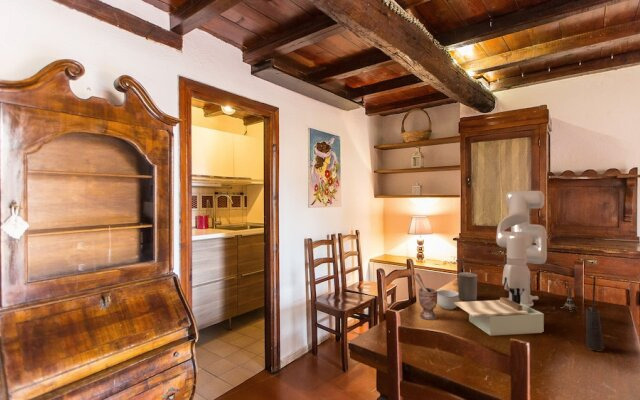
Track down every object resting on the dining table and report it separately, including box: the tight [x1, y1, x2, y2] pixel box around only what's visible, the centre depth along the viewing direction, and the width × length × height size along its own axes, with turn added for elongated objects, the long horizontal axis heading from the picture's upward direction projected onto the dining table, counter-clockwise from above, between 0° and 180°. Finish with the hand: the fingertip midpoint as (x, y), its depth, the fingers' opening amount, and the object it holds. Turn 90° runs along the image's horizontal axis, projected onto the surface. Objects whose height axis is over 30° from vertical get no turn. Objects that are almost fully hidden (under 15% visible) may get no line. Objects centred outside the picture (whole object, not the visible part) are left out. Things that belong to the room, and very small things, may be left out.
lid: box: [454, 296, 528, 317], centre depth 148 cm, size 24×16×3 cm, turn 96°
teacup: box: [437, 288, 460, 311], centre depth 175 cm, size 14×11×8 cm
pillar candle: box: [457, 271, 478, 302], centre depth 188 cm, size 10×10×15 cm
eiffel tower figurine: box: [552, 285, 578, 310], centre depth 171 cm, size 15×10×13 cm
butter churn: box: [585, 275, 605, 350], centre depth 128 cm, size 9×10×28 cm
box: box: [468, 303, 545, 337], centre depth 149 cm, size 24×16×8 cm, turn 96°
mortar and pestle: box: [413, 273, 438, 321], centre depth 161 cm, size 12×9×20 cm
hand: (516, 303), depth 149 cm, fingers closed
